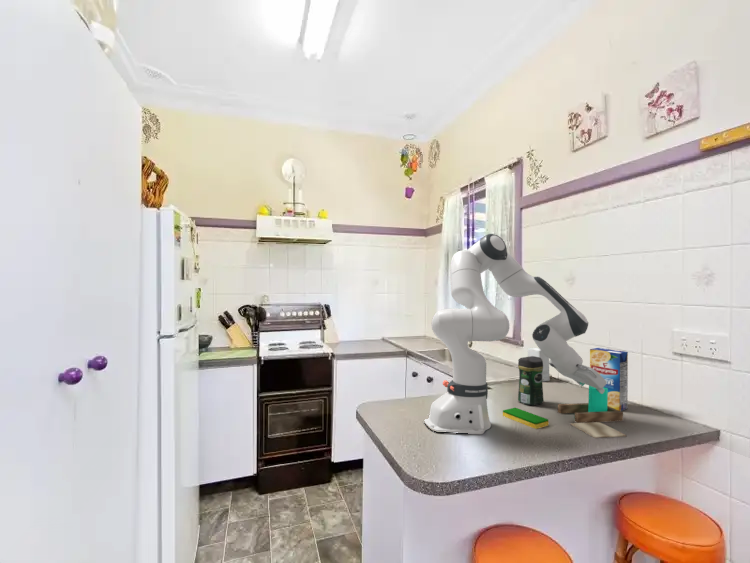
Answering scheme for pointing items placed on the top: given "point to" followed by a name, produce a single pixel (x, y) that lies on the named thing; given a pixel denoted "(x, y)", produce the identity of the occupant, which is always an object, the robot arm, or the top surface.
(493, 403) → the top surface
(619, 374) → the beverage box
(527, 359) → the coffee jar
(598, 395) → the candle
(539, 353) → the skincare box
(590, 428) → the plate
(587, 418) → the brown wooden u-shaped frame
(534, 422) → the dish sponge
